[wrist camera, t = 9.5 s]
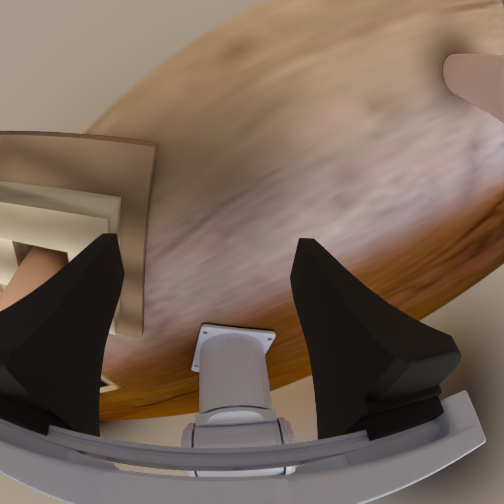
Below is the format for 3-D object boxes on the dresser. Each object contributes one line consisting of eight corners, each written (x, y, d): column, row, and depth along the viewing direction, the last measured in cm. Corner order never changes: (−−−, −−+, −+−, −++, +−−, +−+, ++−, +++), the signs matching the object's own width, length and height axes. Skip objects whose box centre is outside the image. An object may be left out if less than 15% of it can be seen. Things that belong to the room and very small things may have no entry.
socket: (143, 330, 29) (138, 361, 26) (20, 301, 25) (7, 327, 22) (157, 142, 18) (143, 162, 14) (-14, 131, 14) (-44, 148, 11)
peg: (78, 271, 22) (47, 344, 16) (42, 262, 21) (6, 330, 15) (75, 234, 20) (34, 308, 14) (36, 226, 19) (-11, 293, 12)
